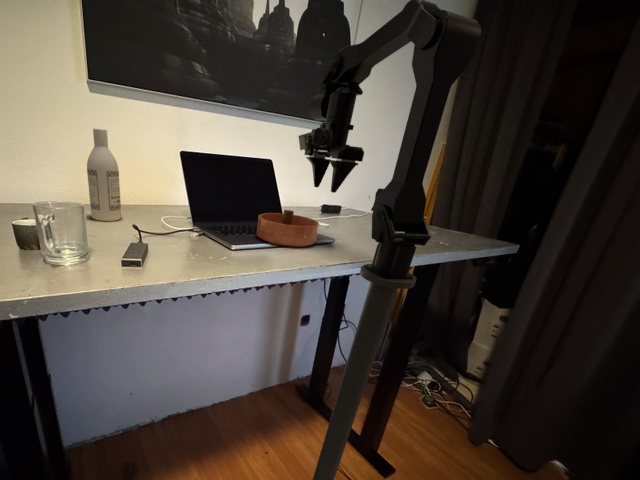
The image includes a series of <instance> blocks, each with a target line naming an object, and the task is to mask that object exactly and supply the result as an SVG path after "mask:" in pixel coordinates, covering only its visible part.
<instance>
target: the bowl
mask: <svg viewBox="0 0 640 480" xmlns="http://www.w3.org/2000/svg"><path fill="white" fill-rule="evenodd" d="M282 219H283V212H281V213H280V212H266V213H265V212H263V213H260V214H258V218H257V225H256V234H255V235H256V236H257V237H258V238H259V239H261V240H262V241H264V242H267V243H269V244H272V245H276V246H281V247H290V248H304V247H308V246H312V245H314V244H315V243H316V242H317V238H318V233H319V227H320V222H319V221H317V220H315V219H312V218H309V217H307V216H303V215H297V214H293V219H292V225H286V224H282Z"/></svg>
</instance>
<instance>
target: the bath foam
mask: <svg viewBox="0 0 640 480" xmlns="http://www.w3.org/2000/svg"><path fill="white" fill-rule="evenodd" d="M92 135H93V145H94V146H93V148H92V150H91V151H90V153H89V154H88V158H87V162H86V174H87V185H88V194H89V206H90V215H91V218H92V219H93V220H97V221H103V222H114V221H115V222H116V221H120V220H121V218H122V207H121V205H122V204H121V188H120V187H121V186H120V170H119V165H118V162H117V160H116V157H115V156H114V154H113V153H112V151H111V150H110V148H109V140H108V130H107V129H102V128H101V129H100V128H93V129H92Z"/></svg>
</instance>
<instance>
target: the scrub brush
mask: <svg viewBox="0 0 640 480" xmlns="http://www.w3.org/2000/svg"><path fill="white" fill-rule="evenodd" d="M282 213H283V219H282V224H286V225H292V219H293V215H294V213H295V212H294V210H290V209H284V210H283V212H282Z"/></svg>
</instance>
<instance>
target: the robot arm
mask: <svg viewBox="0 0 640 480" xmlns="http://www.w3.org/2000/svg"><path fill="white" fill-rule="evenodd" d="M481 33H482V26H481V25H480V24H479V22H478V20H477V19H473V18H471V17H468V16H464V15H462V14H458V13H455V12H452V11H448V10H445V9H442V8H441V7H439V6H438V5H437V4H436V3H434V2H431V1H428V0H408V2H407V3H405V5H404V7H403V9H402V10H401V11H400V12H398V13H397V14H396V15H394V16H393V17H392V18H391V19H390V20H388V21H387V22H385V24H383V25H382V26H381V27H379V28H378V29H377V30H376V31H374V32H373V33H372V34H371V35H370V36H368V37H367V38H366V39H364V40H363V41H361V42H359V43H356V44H351V45H347V46H345V47H343V48H341V49H339V50H338V51H337V53H335V55H334V56H333V57H332V59H331V60H330V63H329V65H328V67H327V69H326V70H325V72H324V74H323V76H322V77H321V79H320V80H321V83H320V85H319V89H318V92H317V93H318V94H316V95H314V96H313V97H312V98H311V100H310V102H309V104H308V114H309V116H310V118H312V120H314V121H324V122H321V124H320V125H319V127H316V128H313V129H311V131H310V132H305V133H302V134H300V135H298V136H297V137H298V144H299V150H300V151H303V150H304V156H305V158H306V160H308V161H309V163H310V164H311V169H312V176H313V177H312V178H313V186H314V188H320V185H321V184H322V182H323V179H324V177H325V175H326V172H327V170H328V168H329V166H330V165H331V167H332V175H331V184H330V193H333V194H335V193H337V191H338V190H339V188H340V187H341V186H342V184H343V183H344V182H345V180H346V179H347V177H348V176H349V175H350V174H351V173H352V171H353V170H354V169H355V167H356V166H358V165H359V163H358V162H363V160H364V156H365V151H364V148H363V147H362V146H353V145H350V144H347V142H348V137H349V134H350V131H354V128H355V125H354V124H352V119H353V114H354V110H355V105H356V100H357V96H362V95H363V94H364V91H363V89H362V87H360V85H361V84H362V83H364V81H365V80H366V79H368V78H369V76H371V73H372V70H373V68H374V67H375V66H376V65H378V64H380V63H381V62H382V61H384V60H385V59H388V57H390V56H392V55H394V53H396V52H398V51H399V50H401V49H402V48H403V47H405V46H406V45H408V44H410V43H412V44H413V45H414V46H413V53H412V60H411V67H412V71H413V72H412V73H413V76H414V81H415V90H414V94H413V98H412V102H411V106H410V110H409V112H408V117H407V120H406V125H405V127H404V133H403V135H402V140H401V144H400V148H399V151H398V155H397V159H396V163H395V167H394V171H393V174H392V178H391V180H390V182H388V183H387V185H386V186H385V187H384V188H378V189H377V190H376V192H375V196H374V202H373V205H372V207H371V209H370V211H371V212H372V213H371V239H372V240H374V241H375V242H376V243H378V244H377V245H376V248H375V252H374V254H373V258H372V262H371V264H372V265H365V264H364V265H365V267H366V268H367V269H369V270H370V271H372V272H374V273H375V274H377V275H379V276H380V277H382V278H384V279H413V276H412V275H413V274H412V275H410V274H408V272H409V270H410V269H411V265H412V262H413V259H414V256H415V253H416V250H417V248H418V247H417V246H422V247H423V246H426V245H427V244H428V242H429V241H430V239H431V238H432V234H431V232H430V228H429V226H428V223H427V221H426V217H425V212H426V205H427V196H426V192H425V189H424V188H425V187H424V179H425V177H426V172H427V169H428V165H429V163H430V159H431V155H432V152H433V148H434V146H435V143H436V138H437V135H438V133H439V128H440V125H441V122H442V118H443V116H444V112H445V109H446V108H445V107H446V104H447V102H448V98H449V95H450V91H451V89H452V86H453V85H454V84H455V82H456V81H457V80H458V79H459V78H460V77H461V75H462V74H463V73H464V72H465V70H466V69H467V68H468V66H469V64H470V62H471V60H472V58H473V56H474V52H475V50H476V47H477V46H478V43H479V41H480V38H481ZM330 158H331V159H330ZM334 159H335V160H334Z"/></svg>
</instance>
